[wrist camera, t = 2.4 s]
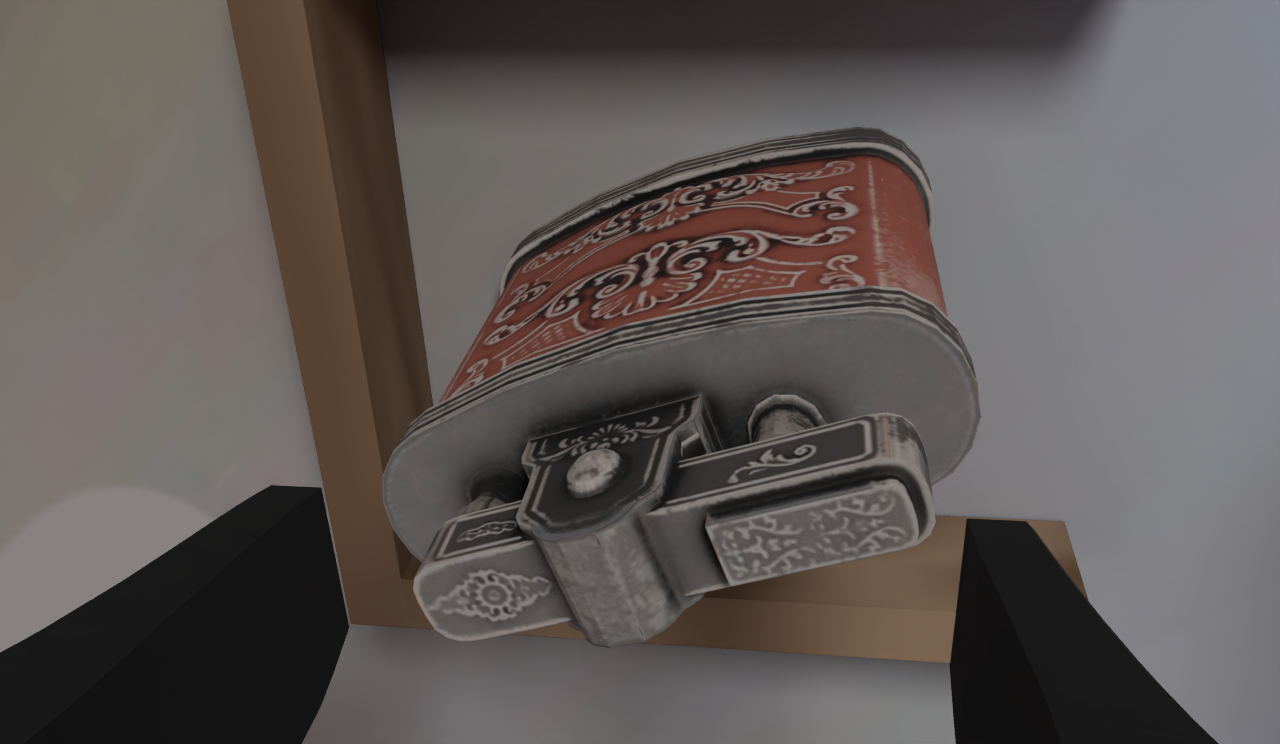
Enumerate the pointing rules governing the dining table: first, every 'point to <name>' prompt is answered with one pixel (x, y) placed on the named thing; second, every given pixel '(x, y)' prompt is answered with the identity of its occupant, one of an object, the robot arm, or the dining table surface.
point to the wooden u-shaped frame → (398, 374)
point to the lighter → (692, 395)
